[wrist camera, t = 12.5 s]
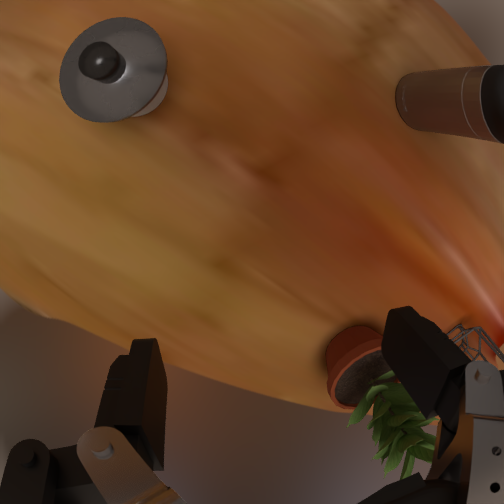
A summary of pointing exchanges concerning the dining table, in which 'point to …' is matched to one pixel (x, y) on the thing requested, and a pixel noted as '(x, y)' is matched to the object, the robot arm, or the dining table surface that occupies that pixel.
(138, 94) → the lid
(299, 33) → the dining table surface
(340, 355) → the potted plant
